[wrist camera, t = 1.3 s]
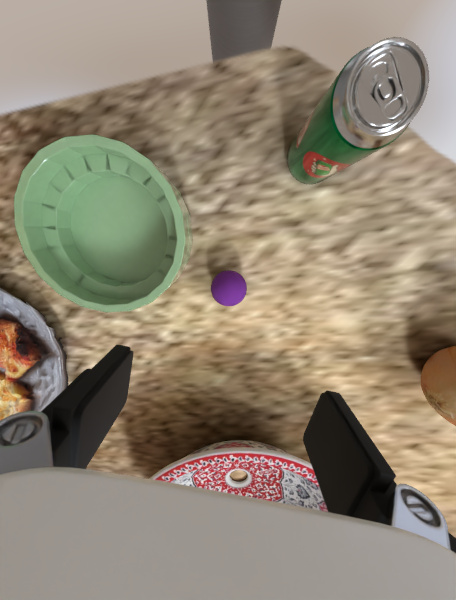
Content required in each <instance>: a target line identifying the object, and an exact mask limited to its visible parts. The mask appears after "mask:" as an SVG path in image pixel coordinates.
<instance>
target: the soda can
mask: <svg viewBox="0 0 456 600" xmlns="http://www.w3.org/2000/svg"><path fill="white" fill-rule="evenodd" d="M428 83H429V70H428V64H427V61H426V58H425V56H424V54H423V52H422V51H421V50H420V48H419V47H418V46H417V45H416V44H415V43H413V42H412V41H409V40H408V39H405V38H401V37H392V38H387V39H384V40H381V41H379V42H377V43H375V44H373V45H372V46H371V47H368V48H366V49H364V50H362V51H360V52H359V53H358V54H356V55H355V56H354V57H353V58H351V59H350V61H349V62H348V63H347V64H346V65H345V66H344V68H343V69H342V71H341V72H340V73H339V75H338V76H337V78H336V79H335V80H334V82H333V83H332V85H331V86H330V88H329V89H328V91H327V92H326V93H325V95H324V96H323V98H322V99H321V101H320V102H319V104H318V105H317V107H316V108H315V109H314V111H313V112H312V114H311V115H310V117H309V118H308V120H307V121H306V122H305V124H304V125H303V127H302V128H301V130H300V131H299V133H298V134H297V135H296V137H295V138H294V140H293V141H292V143H291V145H290V148H289V151H288V157H287V160H288V167H289V170H290V172H291V174H292V175H293V177H294V178H295V179H296V180H298V181H299V182H301V183H304V184H316V183H319V182H321V181H323V180H325V179H327V178H328V177H330V176H332V175H334V174H336V173H338V172H339V171H341V170H343V169H345V168H347V167H349V166H350V165H352V164H354V163H356V162H358V161H359V160H361V159H363V158H365V157H367V156H369V155H370V154H372V153H374V152H376V151H378V150H379V149H381V148H383V147H385V146H387V145H389V144H390V143H391V142H393V141H394V140H396V139H397V138H398V137H399V136H400V135H401V134H402V133H403V132H404V131H405V129H406V128H407V127H408V125H409V124H410V122H411V120H412V119H413V118H414V117H415V115H416V114H417V113H418V111H419V110H420V108H421V106H422V104H423V102H424V99H425V97H426V94H427V89H428Z"/></svg>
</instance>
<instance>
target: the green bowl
mask: <svg viewBox="0 0 456 600" xmlns="http://www.w3.org/2000/svg"><path fill="white" fill-rule="evenodd" d="M14 215H15V227H16V231H17V234H18V237H19V240H20V243H21V246H22V249H23V252H24V254H25V255H26V257H27V258H28V260H29V261H30V263H31V264H32V266H33V268H34V269H35V271H36V272H37V274H38V275H39V276H40V277H41V278H42V279H43V280H44V281H45V282H46V283H47V284H48V285H49V286H51V287H52V288H53V289H54V290H55V291H56V292H57V293H58V294H60V295H61V296H63V297H65V298H67V299H69V300H70V301H72V302H74V303H76V304H78V305H80V306H82V307H85V308H89V309H94V310H98V311H103V312H121V311H131V310H134V309H136V308H139V307H141V306H144V305H146V304H149V303H151V302H153V301H154V300H155V299H156V298H157V297H158V296H159V295H161V294H162V293H163V292H164V291H165V290H166V289H167V288H169V287H170V286H171V285H172V284H173V283H174V282H175V281H176V280H177V279H178V278H179V277H180V275H181V273H182V271H183V270H184V268H185V266H186V264H187V262H188V260H189V256H190V251H191V246H192V241H193V236H192V228H191V219H190V214H189V212H188V209H187V207H186V205H185V202H184V200H183V198H182V195H181V193H180V191H179V190H178V189H177V188H176V187H175V185H174V184H173V183H172V182H171V181H170V179H169V178H168V177H167V176H166V174H165V173H164V172H163V171H162V170H160V169H159V168H158V167H157V166H156V165H155V164H154V163H153V162H151V161H150V160H149V159H148V158H146V157H145V156H143V155H142V154H140V153H139V152H137V151H136V150H134V149H133V148H131V147H130V146H128V145H127V144H125V143H124V142H121V141H117V140H113V139H110V138H106V137H102V136H99V135H95V134H90V135H79V136H68V137H63V138H61V139H59V140H57V141H55V142H53V143H51V144H50V145H48V146H46V147H44V148H42V149H40V150H39V151H38V152H37V153H36V155H35V156H34V157H33V158H32V160H31V161H30V162H29V163H28V165H27V166H26V167H25V168H24V169H23V171H22V173H21V177H20V180H19V183H18V186H17V189H16V193H15V196H14Z"/></svg>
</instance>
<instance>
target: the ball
mask: <svg viewBox="0 0 456 600" xmlns="http://www.w3.org/2000/svg"><path fill="white" fill-rule="evenodd" d="M246 291H247V286H246V282H245V280H244V278H243V277H242V276H241V275H240V274H239V273H237V272H235V271H223V272H221V273H219V274H218V275H217V276H216V277H215V278H214V279H213V281H212V285H211V292H212V295H213V297H214V299H215V300H216V301H217V302H218V303H220V304H222V305H224V306H234V305H236V304H238V303H240V302H241V301H242V300H243V298H244V297H245V295H246Z"/></svg>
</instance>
